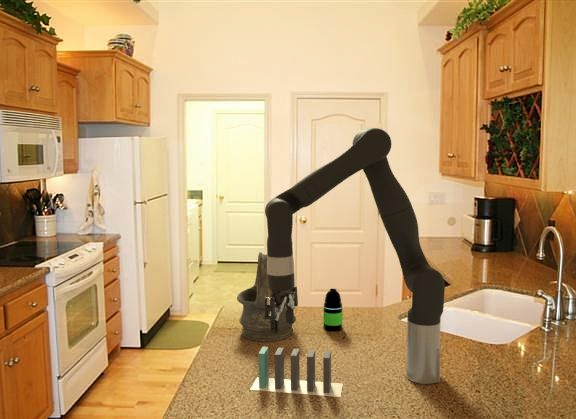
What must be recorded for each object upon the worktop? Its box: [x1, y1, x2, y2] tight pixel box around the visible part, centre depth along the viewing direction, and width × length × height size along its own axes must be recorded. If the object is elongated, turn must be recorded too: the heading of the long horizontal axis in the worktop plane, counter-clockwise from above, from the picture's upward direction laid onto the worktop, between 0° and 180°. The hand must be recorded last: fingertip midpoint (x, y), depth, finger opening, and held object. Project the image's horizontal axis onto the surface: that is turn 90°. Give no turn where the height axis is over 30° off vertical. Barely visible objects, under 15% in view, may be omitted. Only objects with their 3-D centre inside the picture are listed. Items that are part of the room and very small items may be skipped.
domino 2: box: [274, 347, 285, 389], centre depth 145 cm, size 2×5×10 cm, turn 169°
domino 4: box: [306, 349, 316, 392], centre depth 143 cm, size 2×5×10 cm, turn 169°
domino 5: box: [322, 350, 332, 393], centre depth 142 cm, size 2×5×10 cm, turn 169°
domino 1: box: [258, 346, 270, 388], centre depth 145 cm, size 2×5×10 cm, turn 169°
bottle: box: [322, 288, 344, 333], centre depth 191 cm, size 7×7×15 cm
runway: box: [249, 376, 344, 398], centre depth 144 cm, size 25×8×1 cm, turn 79°
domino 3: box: [290, 348, 301, 391], centre depth 144 cm, size 2×5×10 cm, turn 169°
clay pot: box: [236, 252, 297, 342], centre depth 187 cm, size 22×23×30 cm
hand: (282, 327), depth 144 cm, fingers open, 8 cm apart
